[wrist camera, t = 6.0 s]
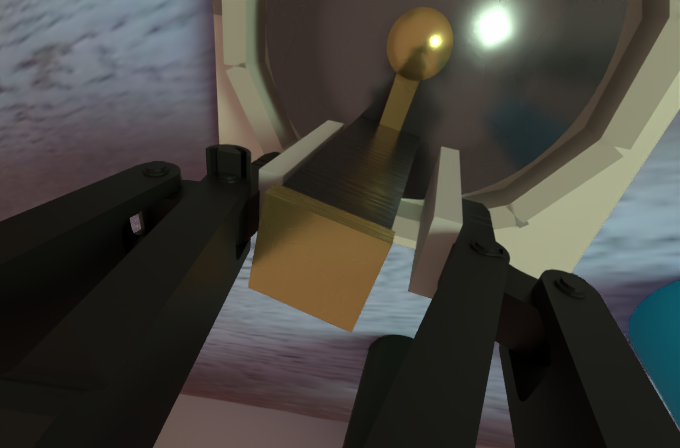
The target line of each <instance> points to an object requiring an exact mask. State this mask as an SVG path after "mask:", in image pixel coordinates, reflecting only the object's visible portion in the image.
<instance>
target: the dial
mask: <svg viewBox="0 0 680 448" xmlns="http://www.w3.org/2000/svg"><path fill="white" fill-rule="evenodd" d="M627 4H628V0H267V8H266V41H267V49H268V57H269V63H270V67H271V72H272V76H273V80H274V84H275V87H276V89H277V92H278V95H279V98H280V101H281V103H282V105H283V107H284V109H285V111H286V113H287V116H288V118H289V120H290V121H291V123H292V124H293V126H294V128H295V129H296V131H297V132H298V134H299V136H300V137H301V138H304V137H305V136H307V135H308V134H309V133H311V132H312V131H314V130H315V129H316V128H318V127H319V126H321V125H322V124H324V123H325V122H326V121H328V120H331V121H335V122H339V123H343V124H344V129H343V131H342V132H341V133H340V134H339V135H338V136H337V137H336V138H334V139H333V140H332V141H331V142H330V143H329V144H328V145H327V146H325V147H324V148H323V149H322V150H321V151H320V152H319V153H318V154H316V155H315V156H314V157H313V158H312V159H311V160H310V161H309V162H308V163H306V164H305V165H304V166H303V167H302V168H301V169H300V170H299V171H297V172H296V173H295V174H294V175H293V176H292V177H291V178H290V179H288V180H287V181H286V182H285V183H284V184H283V185H282V186H281V185H279V184H276V183H275V184H274V185H273V186H272V187H271V188H270V189H268V190H267V191H266V192H265V193H264V199H263V205H262V210H261V216H260V222H259V228H258V233H257V239H256V245H255V251H254V256H253V262H252V268H251V274H250V279H249V285H248V287H249V288H251V289H253V290H256V291H258V292H260V293H262V294H265V295H267V296H269V297H271V298H274V299H276V300H278V301H281V302H283V303H285V304H287V305H290V306H292V307H294V308H296V309H299V310H301V311H303V312H305V313H308V314H310V315H312V316H315V317H317V318H319V319H321V320H324V321H326V322H328V323H330V324H333V325H335V326H337V327H339V328H342V329H344V330H346V331H349V332H352V330H353V328H354V326H355V324H356V322H357V319H358V317H359V315H360V313H361V311H362V309H363V306H364V304H365V302H366V300H367V298H368V296H369V293H370V291H371V289H372V287H373V285H374V283H375V280H376V278H377V276H378V274H379V272H380V270H381V267H382V265H383V263H384V261H385V259H386V257H387V254H388V252H389V250H390V248H391V246H392V243H393V239H394V236H395V233H396V232H395V231H393V230H392V227H393V224H394V220H395V217H396V214H397V211H398V208H399V205H400V201H401V198H403V199H415V200H424V199H425V196H426V193H427V190H428V187H429V183H430V180H431V177H432V174H433V171H434V168H435V165H436V162H437V158H438V155H439V152H440V149H441V146H442V147H446V148H451V149H455V150H459V158H460V178H461V195H464V194H467V193H471V192H475V191H478V190H480V189H483V188H485V187H488V186H490V185H493V184H495V183H498V182H499V181H501V180H503V179H505V178H507V177H509V176H511V175H513V174H515V173H516V172H518V171H519V170H521V169H522V168H524V167H525V166H527V165H528V164H530V163H531V162H533V161H534V160H535V159H537V158H538V157H539V156H540V155H541V154H543V153H544V152H545V151H546V150H547V149H548V148H550V147H551V146H552V145H553V144H554V143H555V142H556V141H557V140H558V139H559V138H560V137H561V136H562V135H563V134H564V133H565V132H566V131H567V129H568V128H569V127H570V126H571V125H572V124H573V123H574V121H575V120H576V119H577V117H578V116H579V115H580V113H581V112H582V111H583V109H584V108H585V107H586V106H587V104H588V103H589V101H590V99H591V98H592V96H593V94H594V93H595V91H596V89H597V88H598V86H599V84H600V83H601V81H602V79H603V77H604V75H605V73H606V71H607V68H608V66H609V64H610V62H611V59H612V57H613V55H614V53H615V50H616V47H617V44H618V40H619V37H620V34H621V31H622V28H623V25H624V20H625V15H626V9H627Z"/></svg>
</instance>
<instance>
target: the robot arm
mask: <svg viewBox="0 0 680 448" xmlns="http://www.w3.org/2000/svg"><path fill="white" fill-rule="evenodd" d="M343 129H344V124H343V123H339V122H335V121H331V120H328V121H326V122H325V123H324V124H322V125H321V126H319V127H318V128H316V129H315V130H314V131H312V132H311V133H309V134H308V135H307V136H305V137H304V138H302V139H301V140H300V141H298V142H297V143H295V144H294V145H293V146H291V147H290V148H288V149H287V150H286V151H284V152H283V153H279V152H271V153H267V154H264V155H262V156H261V157H259V158H258V159H257V160H255V161H253V162H252V163H251V152H250V150H249V149H247V148H245V147H242V146H238V145H231V144H218V145H213V146H210V147H208V148H206V162H207V175H206V176H205V177H204V178H203V179H202V180H201V181H200V182H199V181H190V180H182V178H181V169H180V168H179V167H178V166H176V165H174V164H171V163H166V162H164V161H152V162H149V163H144V164H140V165H137V166H135V167H132V168H130V169H127V170H125V171H122V172H120V173H117V174H115V175H113V176H110V177H108V178H105V179H103V180H100V181H98V182H96V183H93V184H91V185H88V186H86V187H83V188H81V189H79V190H76V191H74V192H71V193H69V194H66V195H64V196H61V197H59V198H57V199H54V200H52V201H49V202H47V203H44V204H42V205H40V206H37V207H35V208H32V209H30V210H27V211H25V212H23V213H20V214H18V215H15V216H13V217H10V218H8V219H6V220H3V221H1V222H0V448H153V446H154V444H155V442H156V440H157V438H158V436H159V434H160V432H161V430H162V428H163V425H164V423H165V422H166V419H167V417H168V415H169V413H170V411H171V409H172V407H173V405H174V403H175V401H176V399H177V397H178V395H179V393H180V391H181V389H182V387H183V385H184V383H185V381H186V379H187V377H188V375H189V373H190V371H191V369H192V367H193V365H194V363H195V361H196V359H197V357H198V355H199V353H200V351H201V349H202V347H203V344H204V342H205V340H206V338H207V336H208V334H209V332H210V330H211V328H212V326H213V324H214V322H215V320H216V318H217V316H218V314H219V312H220V310H221V308H222V306H223V304H224V302H225V300H226V298H227V296H228V294H229V292H230V290H231V288H232V286H233V284H234V282H235V279H236V277H237V275H238V273H239V271H240V269H241V267H242V265H243V263H244V261H245V259H246V257H247V255H248V253H249V251H250V246H251V237H252V236H253V235H254V234H255V233H256V232H257V231H258V228H259V222H260V216H261V210H262V205H263V199H264V193H265V192H266V191H267V190H268V189H270V188H271V187H272V186H273V185H274V184H275V183H276V184H279V185H281V186H282V185H283V184H284V183H285V182H286V181H287V180H288V179H290V178H291V177H292V176H293V175H294V174H295V173H296V172H297V171H299V170H300V169H301V168H302V167H303V166H304V165H305V164H306V163H308V162H309V161H310V160H311V159H312V158H313V157H314V156H315V155H316V154H318V153H319V152H320V151H321V150H322V149H323V148H324V147H325V146H327V145H328V144H329V143H330V142H331V141H332V140H333V139H334V138H336V137H337V136H338V135H339V134H340V133H341V132H342V131H343ZM136 214H139V219H140V224H141V230H139V231H138V232H135V233H133V231H132V228H131V223H130V217H132V216H134V215H136ZM492 226H493V225H492V221H491V215H490V211H489V210H488V209H487V208H486V207H485V206H484V205H483V204H482V203H478V202H475V201H471V200H467V199H463V198H462V197H461V178H460V158H459V150H455V149H451V148H446V147H442V146H441V149H440V152H439V155H438V158H437V162H436V165H435V168H434V171H433V174H432V177H431V180H430V183H429V187H428V190H427V193H426V196H425V199H424V203H423V208H422V214H421V220H420V226H419V232H418V237H417V243H416V249H415V255H414V260H413V266H412V272H411V278H410V284H409V289H408V291H409V292H412V293H415V294H419V295H422V296H425V297H428V298H432V301H431V303H430V305H429V307H428V309H427V311H426V314H425V316H424V318H423V320H422V322H421V324H420V326H419V329H418V331H417V333H416V335H415V337H414V339H413V341H412V344H411V346H410V348H409V350H408V352H407V354H406V357H405V359H404V361H403V363H402V365H401V367H400V369H399V372H398V374H397V376H396V378H395V380H394V382H393V384H392V387H391V389H390V391H389V393H388V395H387V397H386V399H385V402H384V404H383V406H382V408H381V410H380V412H379V414H378V417H377V419H376V421H375V423H374V425H373V427H372V429H371V432H370V434H369V436H368V438H367V440H366V442H365V445H364V447H363V448H475V446H476V440H477V435H478V429H479V424H480V419H481V413H482V408H483V402H484V397H485V392H486V386H487V381H488V375H489V370H490V365H491V359H492V354H493V348H494V343H495V341H496V342H498V343H499V352H500V358H501V364H502V370H503V376H504V382H505V388H506V394H507V400H508V406H509V412H510V418H511V424H512V430H513V436H514V442H515V448H680V432H679V430H678V428H677V426H676V425H675V423H674V421H673V420H672V418H671V416H670V414H669V413H668V411H667V409H666V408H665V406H664V404H663V402H662V401H661V399H660V397H659V395H658V394H657V392H656V390H655V389H654V387H653V385H652V383H651V382H650V380H649V378H648V377H647V375H646V373H645V371H644V370H643V368H642V366H641V365H640V363H639V361H638V359H637V358H636V356H635V354H634V352H633V351H632V349H631V347H630V346H629V344H628V342H627V340H626V339H625V337H624V335H623V334H622V332H621V330H620V328H619V327H618V325H617V323H616V322H615V320H614V318H613V316H612V315H611V313H610V311H609V310H608V308H607V306H606V304H605V303H604V301H603V299H602V297H601V296H600V294H599V293H598V292H597V291H596V290H595V288H594V287H592V286H591V285H590V284H588V283H587V282H586V281H585V280H584V279H582V278H581V277H578V276H577V275H575V274H572V273H568V272H565V271H561V270H555V269H550V270H545V271H544V272H543V273H542V274H541V276H540V277H539V279H537V278H535V277H533V276H531V275H528V274H526V273H524V272H522V271H520V270H518V269H516V268H515V267H513V266H512V265H510V264H509V262H510V255H509V252H508V251H507V250H506V249H505V247H503V246H502V245H500V244H499V243H498V242H496V239H495V234H494V230H493V227H492ZM436 289H437V290H436ZM435 291H436V292H435Z"/></svg>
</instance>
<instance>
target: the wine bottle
mask: <svg viewBox="0 0 680 448" xmlns="http://www.w3.org/2000/svg"><path fill="white" fill-rule="evenodd" d="M412 341H413V339H412V338H409V337H405V336H397V335H392V336H385V337H382V338H379V339H377V340H376V341H374V342H373V343H372V344H371V346H370V348H369V350H368V354H367V358H366V362H365V365H364V369H363V373H362V376H361V380H360V384H359V388H358V391H357V395H356V399H355V403H354V406H353V410H352V414H351V417H350V421H349V425H348V429H347V433H346V436H345V440H344V444H343V447H342V448H363V447H364V445H365V442H366V440H367V438H368V436H369V434H370V432H371V429H372V427H373V425H374V423H375V421H376V419H377V417H378V414H379V412H380V410H381V408H382V406H383V404H384V402H385V399H386V397H387V395H388V393H389V391H390V389H391V387H392V384H393V382H394V380H395V378H396V376H397V374H398V372H399V369H400V367H401V365H402V363H403V361H404V359H405V357H406V354H407V352H408V350H409V348H410V346H411V344H412Z"/></svg>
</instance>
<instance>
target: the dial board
mask: <svg viewBox="0 0 680 448" xmlns="http://www.w3.org/2000/svg"><path fill="white" fill-rule="evenodd" d="M212 7H213V14H214V33H215V56H216V78H217V100H218V123H219V144H231V145H238V146H242V147H245V148H247V149H249V150H250V152H251V163H252V162H253V161H255V160H257V159H258V158H259V157H261V156H262V155H264V154H267V153H271V152H279V153H283V152H284V151H286V150H287V149H288V148H290V147H291V146H293V145H294V144H295V143H297V142H298V141H300V140H301V139H302V138H301V137H300V136H299V134H298V132H297V131H296V129H295V128H294V126H293V124H292V123H291V121H290V120H289V118H288V116H287V113H286V111H285V109H284V107H283V105H282V103H281V101H280V98H279V95H278V92H277V89H276V87H275V84H274V80H273V76H272V72H271V67H270V63H269V57H268V49H267V41H266V8H267V0H212ZM679 109H680V0H628V4H627V9H626V15H625V20H624V25H623V28H622V31H621V34H620V37H619V40H618V44H617V47H616V50H615V53H614V55H613V57H612V59H611V62H610V64H609V66H608V68H607V71H606V73H605V75H604V77H603V79H602V81H601V83H600V84H599V86H598V88H597V89H596V91H595V93H594V94H593V96H592V98H591V99H590V101H589V103H588V104H587V106H586V107H585V108H584V109H583V111H582V112H581V113H580V115H579V116H578V117H577V119H576V120H575V121H574V123H573V124H572V125H571V126H570V127H569V128H568V129H567V131H566V132H565V133H564V134H563V135H562V136H561V137H560V138H559V139H558V140H557V141H556V142H555V143H554V144H553V145H552V146H551V147H550V148H548V149H547V150H546V151H545V152H544V153H543V154H541V155H540V156H539V157H538V158H537V159H535V160H534V161H533V162H531V163H530V164H528V165H527V166H525V167H524V168H522V169H521V170H519V171H518V172H516V173H515V174H513V175H511V176H509V177H507V178H505V179H503V180H501V181H499V182H498V183H495V184H493V185H490V186H488V187H485V188H483V189H480V190H478V191H475V192H471V193H467V194H464V195H461V197H462V198H463V199H467V200H471V201H475V202H478V203H482V204H483V205H484V206H485V207H486V208H487V209H488V210H489V211H490V215H491V221H492V225H493V226H492V227H493V230H494V234H495V239H496V242H498V243H499V244H500V245H502V246H503V247H505V249H506V250H507V251H508V252H509V255H510V262H509V264H510V265H512V266H513V267H515V268H516V269H518V270H520V271H522V272H524V273H526V274H528V275H531V276H533V277H535V278H537V279H539V277H540V276H541V274H542V273H543V272H544V271H545V270H550V269H555V270H561V271H565V272H568V273H571V272H572V271H573V269H574V268H575V266H576V265H577V263H578V262H579V260H580V259H581V257H582V256H583V254H584V253H585V251H586V250H587V248H588V247H589V245H590V244H591V242H592V241H593V239H594V238H595V236H596V235H597V233H598V231H599V230H600V228H601V227H602V225H603V224H604V222H605V221H606V219H607V218H608V216H609V215H610V213H611V212H612V210H613V209H614V207H615V206H616V204H617V203H618V201H619V200H620V198H621V197H622V195H623V194H624V192H625V191H626V189H627V188H628V186H629V185H630V183H631V182H632V180H633V179H634V177H635V176H636V174H637V173H638V171H639V169H640V168H641V166H642V165H643V163H644V162H645V160H646V159H647V157H648V156H649V154H650V153H651V151H652V150H653V148H654V147H655V145H656V144H657V142H658V141H659V139H660V138H661V136H662V135H663V133H664V132H665V130H666V129H667V127H668V126H669V124H670V123H671V121H672V120H673V118H674V117H675V115H676V114H677V112H678V110H679ZM423 203H424V200H415V199H403V198H401V201H400V205H399V208H398V211H397V214H396V217H395V220H394V224H393V227H392V230H393V231H395V232H396V233H395V236H394V239H393V243H395V244H399V245H402V246H406V247H409V248H413V249H416V243H417V237H418V232H419V226H420V220H421V214H422V208H423Z"/></svg>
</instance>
